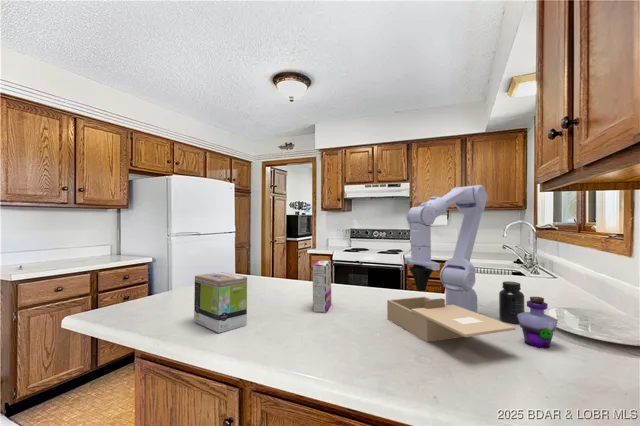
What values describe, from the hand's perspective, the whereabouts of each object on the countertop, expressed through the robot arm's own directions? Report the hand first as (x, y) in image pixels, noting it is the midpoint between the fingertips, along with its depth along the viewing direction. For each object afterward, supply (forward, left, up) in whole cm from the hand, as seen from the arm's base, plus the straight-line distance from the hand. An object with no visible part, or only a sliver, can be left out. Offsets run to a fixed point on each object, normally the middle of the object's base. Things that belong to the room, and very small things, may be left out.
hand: (421, 290), depth 96 cm
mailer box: (0, +2, -10) cm, 10 cm away
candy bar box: (+23, -26, -10) cm, 36 cm away
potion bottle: (-19, +22, -10) cm, 31 cm away
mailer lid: (0, +16, -4) cm, 16 cm away
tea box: (+58, -20, -10) cm, 62 cm away
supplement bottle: (-29, +6, -10) cm, 31 cm away
